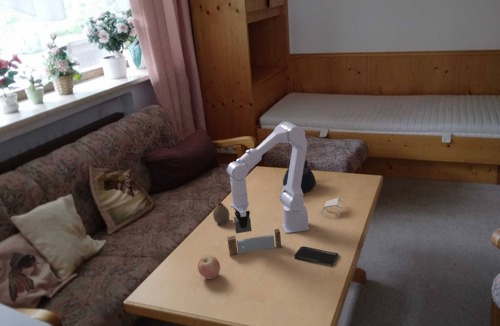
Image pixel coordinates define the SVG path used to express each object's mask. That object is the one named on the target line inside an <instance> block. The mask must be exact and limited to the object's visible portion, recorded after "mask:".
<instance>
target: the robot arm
mask: <svg viewBox="0 0 500 326" xmlns="http://www.w3.org/2000/svg"><path fill="white" fill-rule="evenodd" d="M278 144H290V145H291V146H292V150H291V155H290V161H289V167H288V169H289V174H288V180H287V185H285V186H283V187H282V191H281V192H280V195H279V200H280V202H281V203H282V209H283V210H282V211H283V221H284V222H282V223H281V225H282V227H283V229H284V232H285V234H292V233H298V232H304V231H309V230H310V227H309V215H308V209H307V207H306V206H305V200H304V193H303V192H302V189H301V181H302V174H303V168H304V162H305V161H306V156H307V155H306V154H307V148H308V141H307V138H306V131H305V130H304V129H303V128H302V127H300V126H298V125H296V124H294V123H292V122H290V121H287V120H284V121H282V122H280V123H279V124H278V125H277V126H275V127H274V130H273V131H272V132H271V133H270V134H269V135H268V136H267V137H266V138H265V139H264V140H263V141H262V142H261V143H260V144H259V145H258V146H256V147H255V148H252V147H251V148H250V149H247V150H245V153H243V154H242V156H241V157H239V158H237V159H236V161H232V162H230V163H229V164H228V166H227V169H226V170H225V171H226V173H227V174H228V175H229V179H230V180H229V181H230V190H231V191H230V192H231V196H232V197H231V198H232V199H231V200H232V203H229V207H230V208H233V210H234V217H237V218H238V220H239V224H240V227H241V228H246V227H247V220H248V217H250V214H251V212H250V210H247V209H248V207H249V205H250V203H249V200H248V190H247V180H246V178H247V176H248V174H249V172H250V170H251V169H252V168H254V167H255V166H256V165H257V164H258V163H260V162H261V161H262V157H263V155H264V154H266V153H267V152H268V151H270V150H271V149H273V148H274V147H275V146H277V145H278Z"/></svg>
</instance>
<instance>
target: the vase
mask: <svg viewBox="0 0 500 326" xmlns="http://www.w3.org/2000/svg"><path fill="white" fill-rule="evenodd" d="M212 216H213V220H214V222H215V223H217V224H218V225H224V224H225V225H226V224H227V223H228V222H229V220H230V212H229V209H228V208H227V206H225V204H224V203H222V202H218V203H217V204H216V206H215V207H214V209H213V212H212Z"/></svg>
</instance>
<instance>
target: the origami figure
mask: <svg viewBox="0 0 500 326" xmlns="http://www.w3.org/2000/svg"><path fill="white" fill-rule="evenodd" d="M339 202H340V203H339ZM342 203H343V200H342V199H340V198H339V197H337V198H333V199H329V200H327V201H325V203H324V205H323V209H322V211H321V212H320V214H322V215H323V217H326V213H323V212H324V211H325V209H326V212H327V213H328V210H329V209H328V208H331V207H337V209H338V211H337V212H336V214H337V216H338V217H340V215H341V214H340V213H341V212H342V210H341V209H342V207H341V205H342ZM338 204H339V205H338Z"/></svg>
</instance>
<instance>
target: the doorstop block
mask: <svg viewBox="0 0 500 326" xmlns="http://www.w3.org/2000/svg"><path fill="white" fill-rule="evenodd" d="M233 224H234V231H235V234H243V233H248V232H252V231H253V230H252V222H251V217H250V216H249V217H248V220H247V227H246V228H241V227H240V224H239V220H238V218H237V217H236V216H234V217H233Z"/></svg>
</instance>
